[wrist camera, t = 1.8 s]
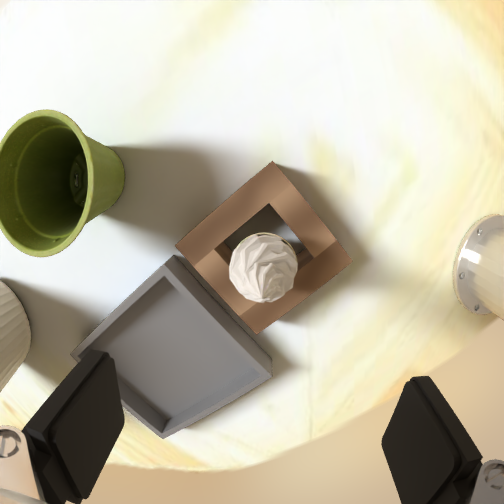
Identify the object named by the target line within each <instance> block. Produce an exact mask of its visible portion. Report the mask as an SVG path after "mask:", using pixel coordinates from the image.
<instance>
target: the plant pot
mask: <svg viewBox="0 0 504 504" xmlns="http://www.w3.org/2000/svg"><path fill="white" fill-rule="evenodd" d="M75 174H78V187H75V182H74V180H75V179H74V177H75ZM124 182H125V172H124V167H123V164H122V161H121V160H120V158H119V157H118V155H117V154H116V153H115V152H114V151H113V150H111V149H110V148H108V147H106V146H105V145H103V144H101V143H99V142H97V141H95V140H93V139H91V138H90V137H88V136H86V135H85V134H84V133H83V132H82V130H81V129H80V128H79V126H78V125H77V124H76V123H75V122H74V121H73V120H72V119H71V118H69V117H68V116H67V115H65V114H63V113H61V112H58V111H54V110H38V111H34V112H31V113H29V114H27V115H25V116H24V117H22V118H21V119H19V120H18V121H17V122H16V123H15V124H14V125H13V126H12V127H11V128H10V129H9V130H8V131H7V133H6V135H5V136H4V138H3V139H2V141H1V143H0V229H1V230H2V232H3V234H4V235H5V237H6V238H7V239H8V240H9V242H10V243H11V244H12V245H13V246H15V247H16V248H17V249H18V250H20V251H21V252H23V253H25V254H28V255H30V256H35V257H48V256H52V255H55V254H57V253H59V252H61V251H63V250H64V249H65V248H67V247H68V246H69V245H70V244H71V243H72V242H73V241H74V240H75V239H76V237H77V236H78V235H79V233H80V232H81V230H82V229H83V227H84V225H85V224H86V223H88V222H89V221H90V220H92V219H93V218H95V217H96V216H98V215H99V214H101V213H102V212H104V211H105V210H107V209H108V208H110V207H111V206H112V205H113V204H114V203H115V202H116V201H117V199H118V198H119V196H120V195H121V193H122V191H123V187H124Z"/></svg>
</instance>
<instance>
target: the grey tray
mask: <svg viewBox="0 0 504 504" xmlns="http://www.w3.org/2000/svg"><path fill="white" fill-rule="evenodd" d="M91 349H95V350H100V351H104V352H108V353H109V355H110V357H111V358H113V359H114V361H115V368H116V374H117V380H118V386H119V392H120V398H121V403H122V406H123V407H125V408H126V409H127V410H128V411H129V412H130V413H131V414H133V415H134V416H135V417H136V418H137V419H138V420H140V421H141V422H142V423H143V424H144V425H146V426H147V427H148V428H149V429H151V430H152V431H153V432H154V433H156V434H157V435H158V436H159V437H161V438H162V439H164V438H166V437H168V436H170V435H172V434H174V433H176V432H178V431H180V430H181V429H183V428H185V427H187V426H189V425H191V424H193V423H195V422H196V421H198V420H200V419H202V418H204V417H206V416H207V415H209V414H211V413H213V412H215V411H216V410H218V409H220V408H222V407H223V406H225V405H227V404H228V403H230V402H232V401H234V400H235V399H237V398H239V397H240V396H242V395H244V394H245V393H247V392H249V391H250V390H252V389H253V388H255V387H257V386H258V385H260V384H261V383H263V382H265V381H266V380H268V379H269V378H271V377H272V359H271V358H270V357H269V356H268V355H267V354H266V353H265V352H264V351H263V350H262V348H261V347H260V346H259V345H258V344H257V343H256V342H255V341H254V340H253V339H252V338H251V337H250V336H249V335H248V334H247V333H246V332H245V331H244V330H243V329H242V328H241V327H240V326H239V325H238V324H237V323H236V322H235V321H234V320H233V319H232V317H231V316H230V315H229V314H228V313H227V312H226V311H225V310H224V309H223V308H222V307H221V306H220V305H219V304H218V303H217V302H216V300H215V299H214V298H213V297H212V296H211V295H210V294H209V293H208V292H207V291H206V290H205V289H204V287H203V286H202V285H201V284H200V283H199V282H198V281H197V280H196V279H195V278H194V277H193V275H192V274H191V273H190V272H189V271H188V270H187V269H186V268H185V267H184V265H183V264H182V263H181V262H180V261H179V260H178V259H177V258H176V256H175V255H173V256H172V257H171V258H170V259H169V260H168V261H166V262H165V263H164V264H163V265H162V266H161V267H160V268H159V269H158V270H157V271H155V272H154V273H153V274H152V275H151V276H150V277H149V278H148V279H147V280H146V281H145V282H144V283H143V284H141V285H140V286H139V287H138V288H137V289H136V290H135V291H134V292H133V293H132V294H131V295H130V296H129V297H128V298H127V299H125V300H124V301H123V302H122V303H121V304H120V305H119V306H118V307H117V308H116V309H115V310H114V311H113V312H112V313H111V314H110V315H109V316H108V317H107V318H106V319H105V320H104V321H103V322H102V323H101V324H99V325H98V326H97V327H96V328H95V329H94V330H93V331H92V332H91V333H90V334H89V335H88V336H87V337H86V338H85V339H84V340H83V341H82V342H81V343H80V344H79V345H78V346H77V347H76V348H75V349H74V351H73V352H72V353H71V354H70V355H71V356H72V357H73V358H74V359H75V360H76V361H77V362H78V363H79V362H80V360H81V359H82V358H83V357H84V356H85V355H86V354H87V353H88V351H89V350H91Z"/></svg>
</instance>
